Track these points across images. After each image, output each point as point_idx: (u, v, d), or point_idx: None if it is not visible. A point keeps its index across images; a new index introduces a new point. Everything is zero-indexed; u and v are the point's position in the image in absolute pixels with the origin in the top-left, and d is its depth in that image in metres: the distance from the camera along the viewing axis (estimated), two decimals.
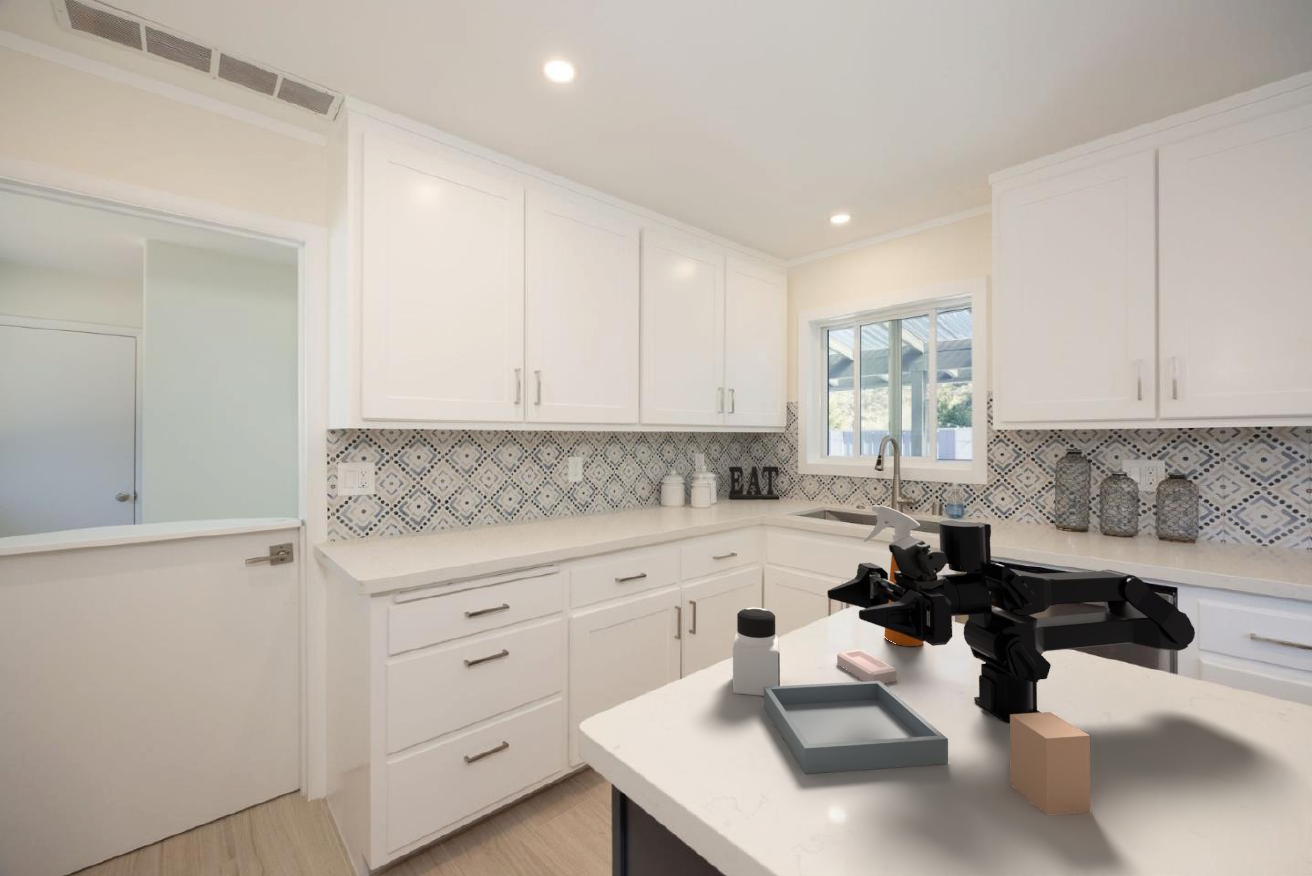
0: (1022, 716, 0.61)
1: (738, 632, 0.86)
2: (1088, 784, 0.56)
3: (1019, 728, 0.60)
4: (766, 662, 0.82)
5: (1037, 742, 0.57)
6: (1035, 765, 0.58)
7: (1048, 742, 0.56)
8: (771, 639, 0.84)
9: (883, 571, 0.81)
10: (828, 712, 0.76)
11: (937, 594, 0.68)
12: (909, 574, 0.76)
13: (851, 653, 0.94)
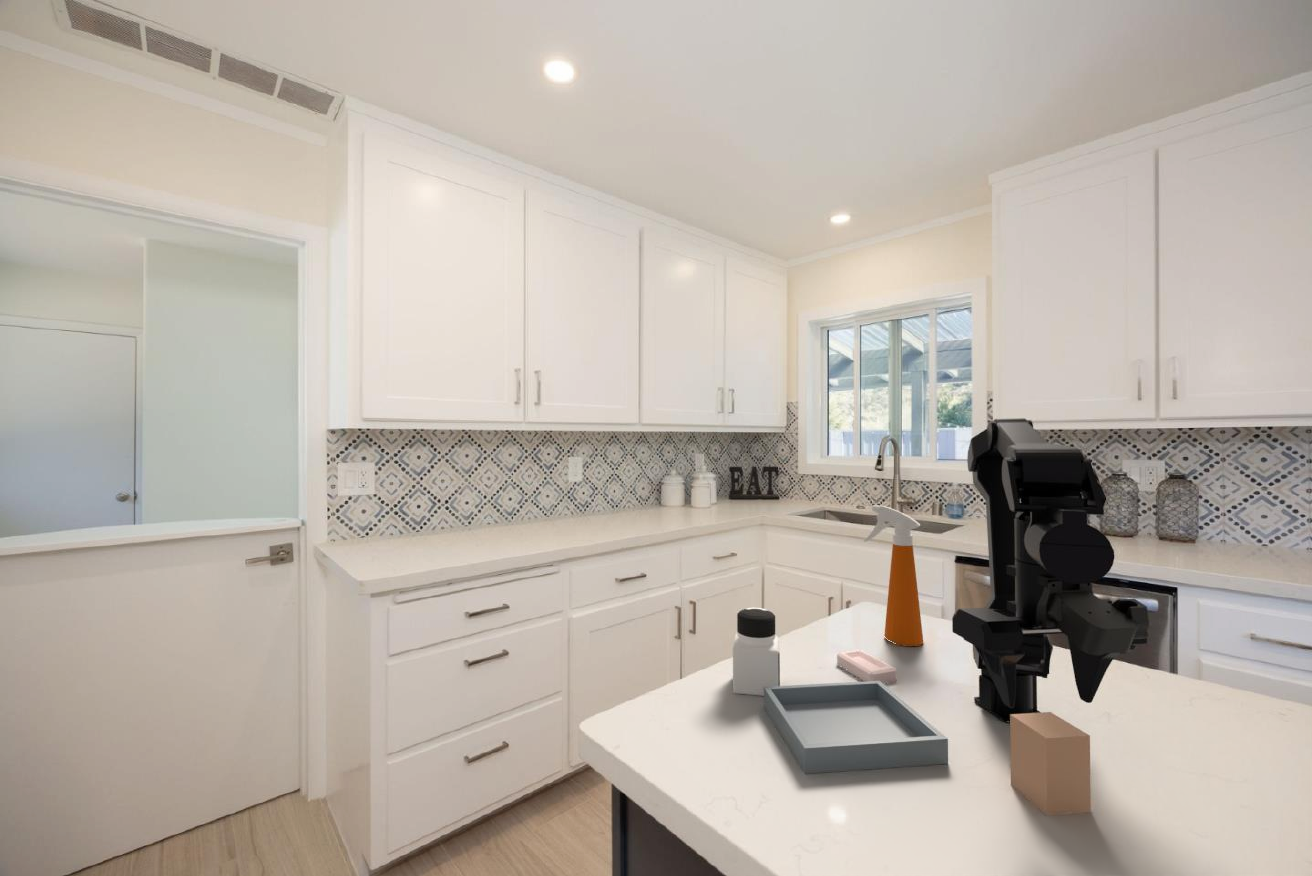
0: (1022, 716, 0.61)
1: (738, 632, 0.86)
2: (1088, 784, 0.56)
3: (1019, 728, 0.60)
4: (766, 662, 0.82)
5: (1038, 741, 0.57)
6: (1035, 765, 0.58)
7: (1048, 742, 0.56)
8: (771, 639, 0.84)
9: None
10: (828, 712, 0.76)
11: None
12: None
13: (851, 653, 0.94)
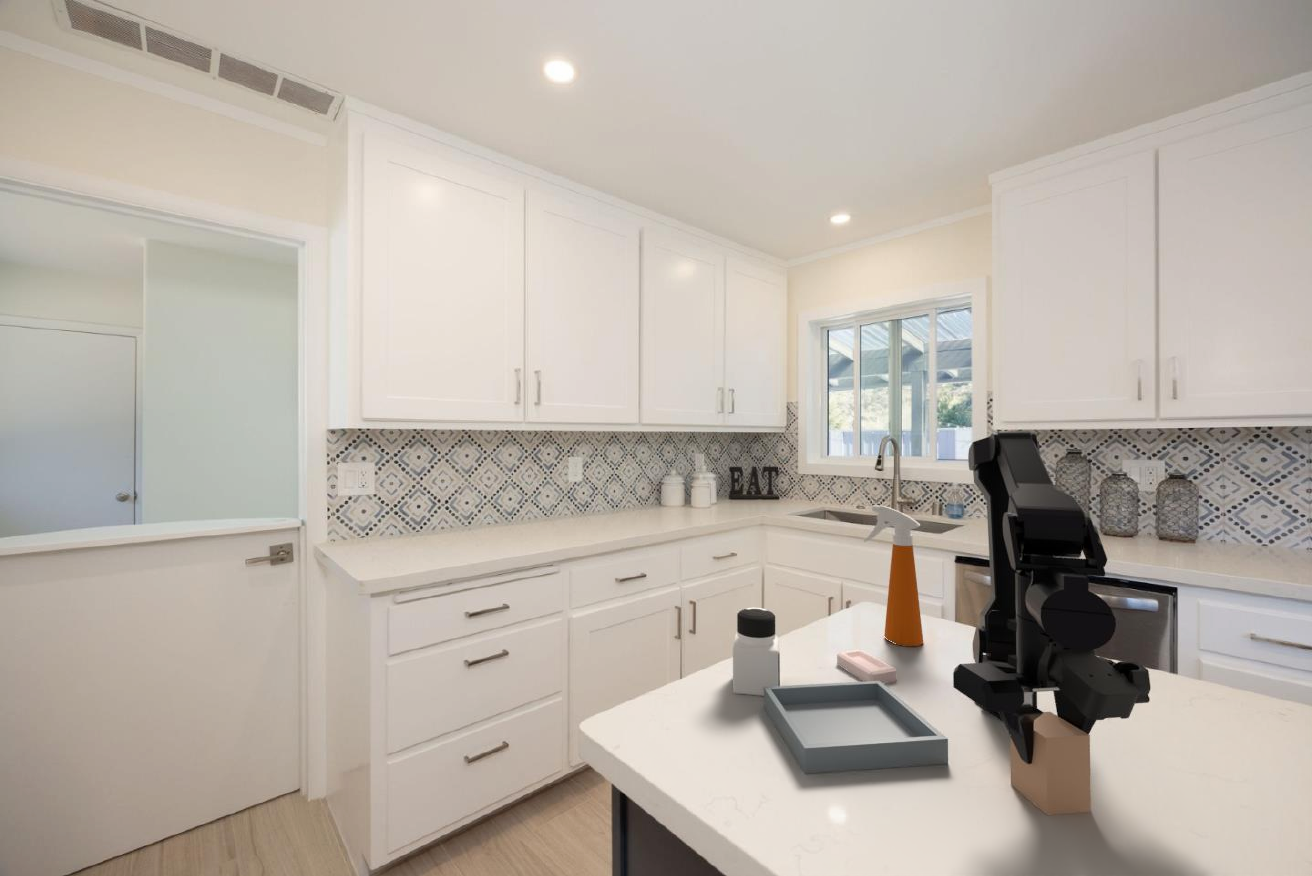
0: None
1: (738, 632, 0.86)
2: (1088, 784, 0.56)
3: None
4: (766, 662, 0.82)
5: (1037, 741, 0.57)
6: (1035, 765, 0.58)
7: (1048, 742, 0.56)
8: (771, 639, 0.84)
9: None
10: (828, 712, 0.76)
11: None
12: None
13: (851, 653, 0.94)
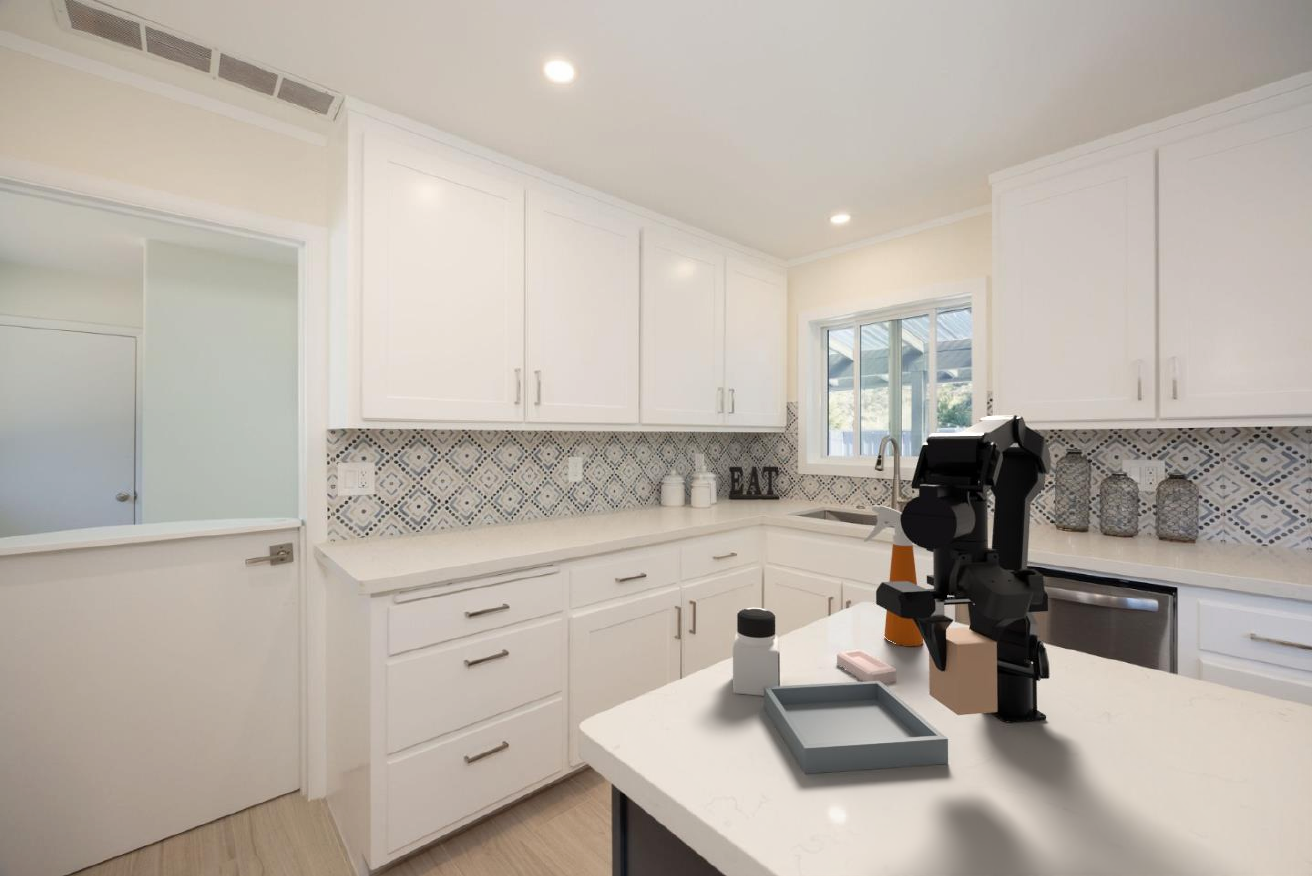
0: None
1: (738, 632, 0.86)
2: (995, 686, 0.62)
3: None
4: (766, 662, 0.82)
5: (950, 649, 0.62)
6: (948, 671, 0.62)
7: (959, 648, 0.61)
8: (771, 639, 0.84)
9: None
10: (828, 712, 0.76)
11: (1043, 600, 0.62)
12: None
13: (851, 653, 0.94)
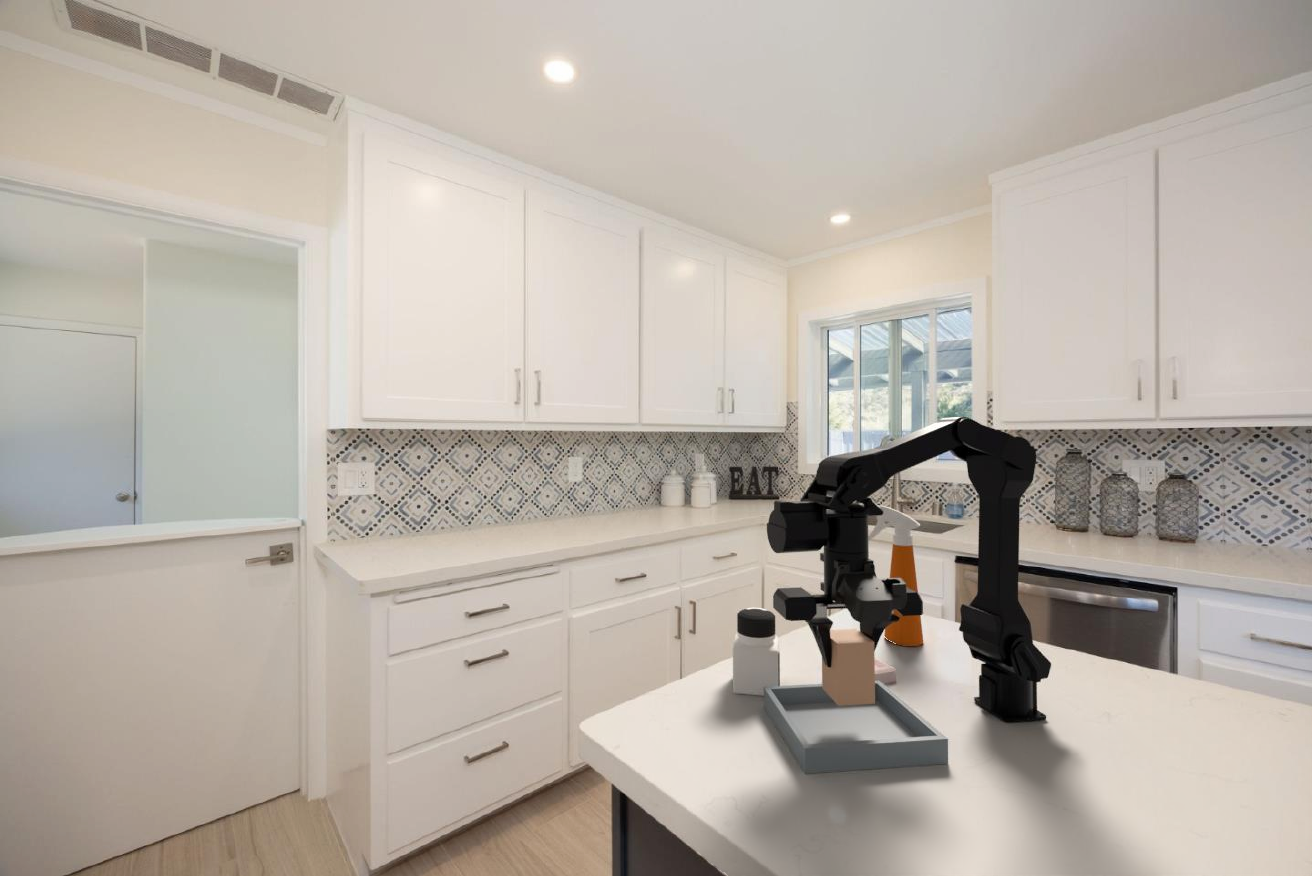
0: (830, 631, 0.74)
1: (738, 632, 0.86)
2: (873, 681, 0.70)
3: None
4: (766, 662, 0.82)
5: (833, 648, 0.70)
6: (832, 667, 0.71)
7: (839, 647, 0.69)
8: (771, 639, 0.84)
9: None
10: (828, 712, 0.76)
11: (917, 605, 0.70)
12: None
13: None
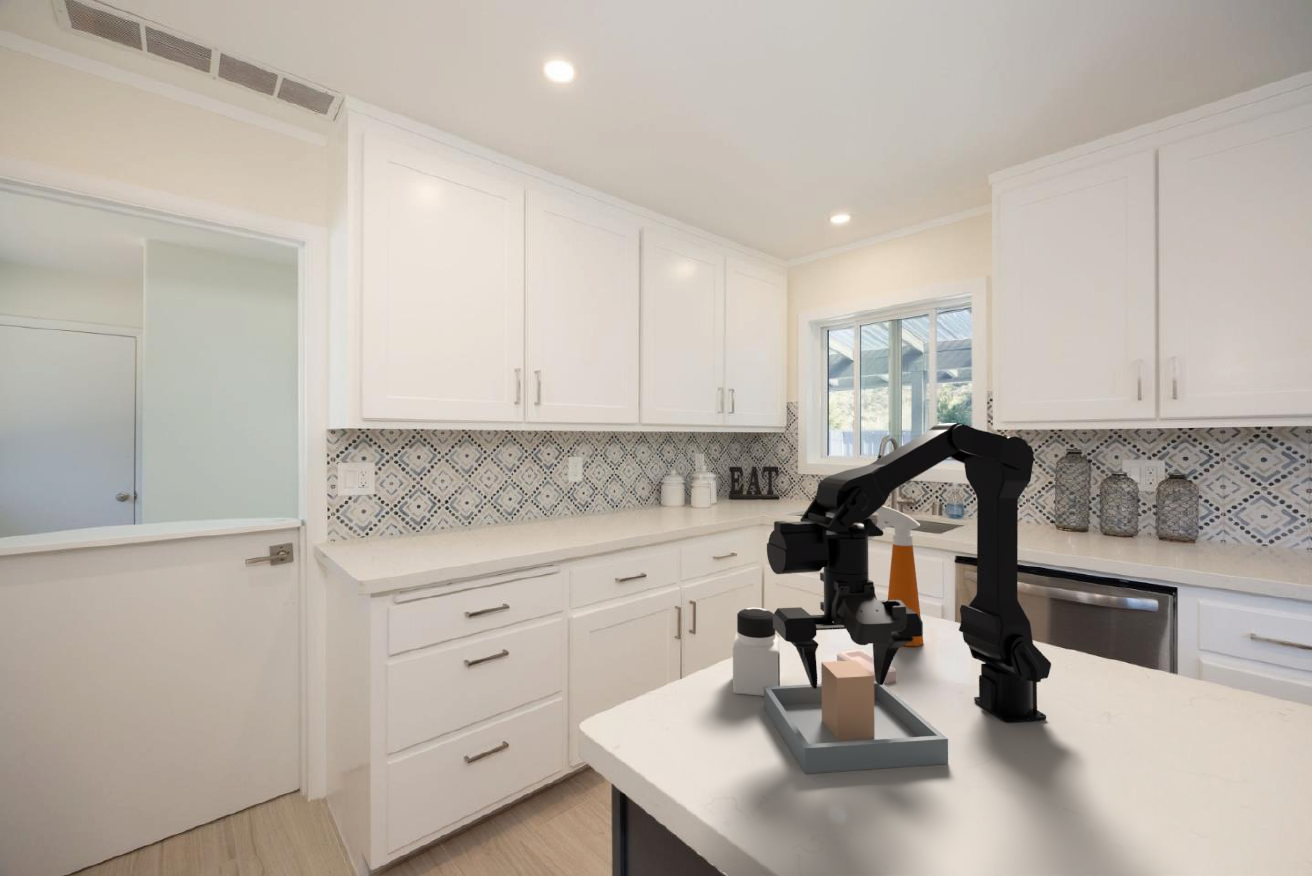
0: (830, 663, 0.74)
1: (738, 632, 0.86)
2: (872, 715, 0.70)
3: (825, 672, 0.73)
4: (766, 662, 0.82)
5: (833, 681, 0.70)
6: (832, 700, 0.71)
7: (839, 681, 0.69)
8: (771, 639, 0.84)
9: (814, 623, 0.69)
10: None
11: (917, 626, 0.70)
12: None
13: (851, 653, 0.94)
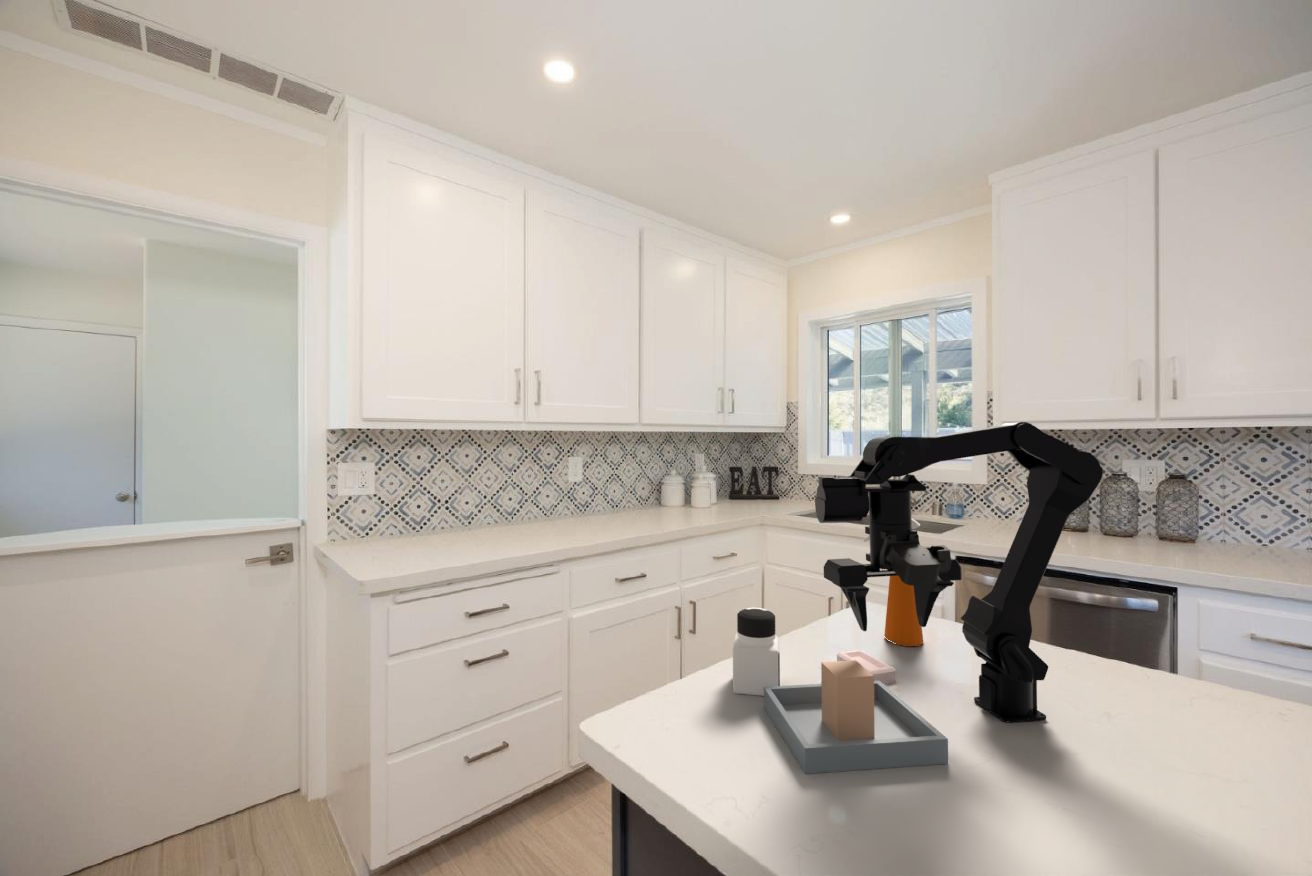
0: (830, 663, 0.74)
1: (738, 632, 0.86)
2: (872, 715, 0.70)
3: (825, 672, 0.73)
4: (766, 662, 0.82)
5: (833, 681, 0.70)
6: (832, 700, 0.71)
7: (839, 681, 0.69)
8: (771, 639, 0.84)
9: None
10: None
11: (957, 571, 0.77)
12: None
13: (851, 653, 0.94)
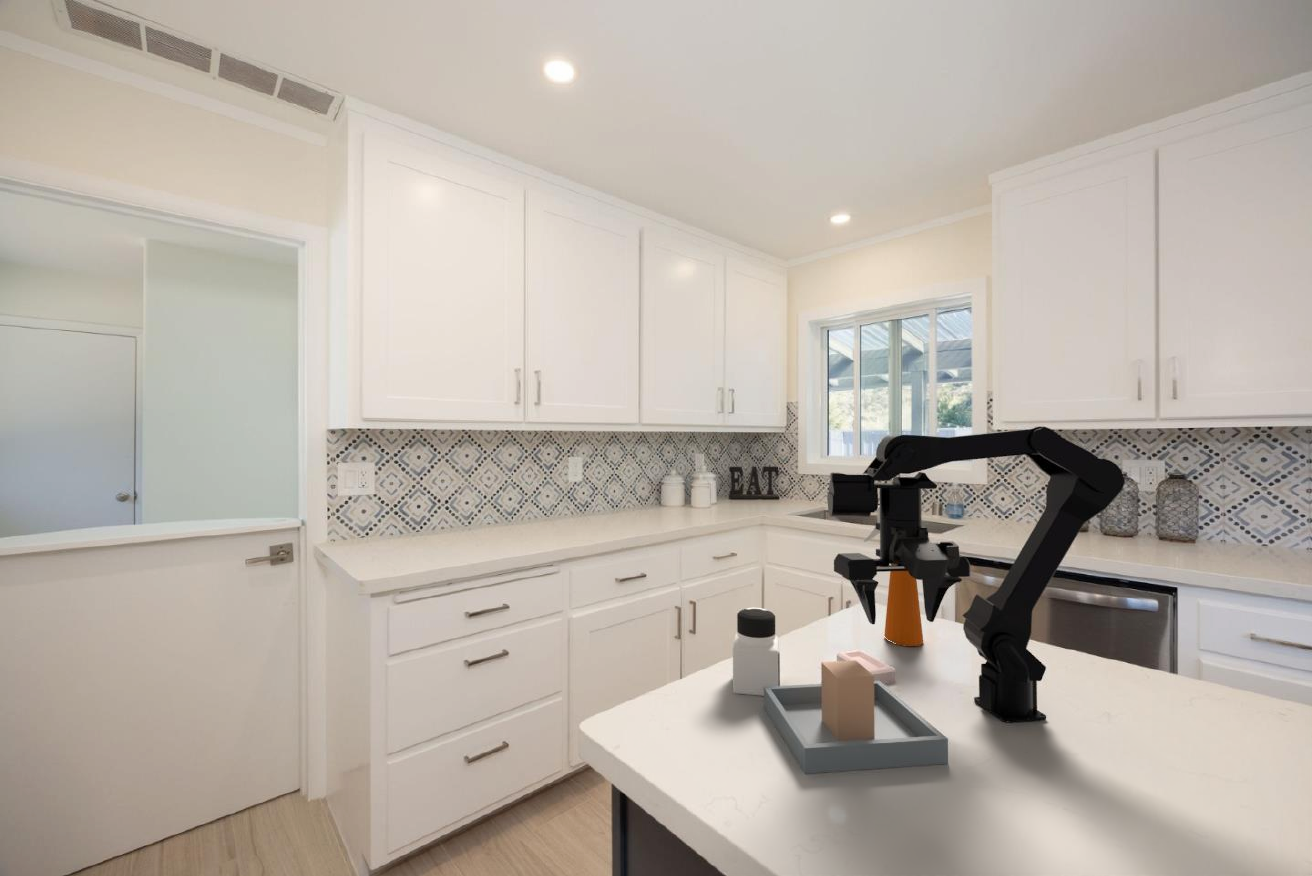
0: (830, 663, 0.74)
1: (738, 632, 0.86)
2: (872, 715, 0.70)
3: (825, 672, 0.73)
4: (766, 662, 0.82)
5: (833, 681, 0.70)
6: (832, 700, 0.71)
7: (839, 681, 0.69)
8: (771, 639, 0.84)
9: None
10: None
11: (965, 568, 0.78)
12: None
13: (851, 653, 0.94)
